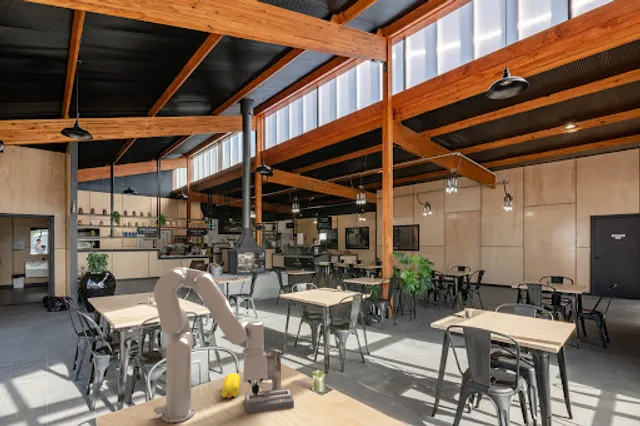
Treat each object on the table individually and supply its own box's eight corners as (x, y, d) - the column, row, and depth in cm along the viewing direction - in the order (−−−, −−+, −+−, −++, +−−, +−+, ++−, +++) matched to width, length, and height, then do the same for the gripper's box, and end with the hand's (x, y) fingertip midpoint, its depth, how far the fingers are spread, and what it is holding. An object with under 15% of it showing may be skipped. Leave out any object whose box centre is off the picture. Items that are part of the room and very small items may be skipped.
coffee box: (269, 383, 171) (268, 350, 172) (281, 384, 170) (281, 351, 171) (262, 391, 162) (262, 356, 163) (275, 392, 161) (275, 357, 162)
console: (246, 413, 143) (246, 404, 143) (245, 399, 155) (245, 391, 156) (293, 406, 148) (293, 398, 148) (289, 393, 160) (289, 385, 160)
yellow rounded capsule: (220, 401, 154) (237, 400, 155) (220, 385, 154) (237, 384, 155) (225, 384, 172) (241, 383, 173) (225, 370, 172) (241, 369, 173)
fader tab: (262, 398, 149) (262, 383, 150) (261, 395, 152) (261, 380, 153) (272, 397, 150) (272, 382, 151) (271, 394, 154) (271, 379, 154)
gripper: (237, 355, 146) (237, 400, 145) (273, 351, 150) (273, 395, 149) (237, 349, 153) (237, 392, 152) (271, 346, 157) (271, 388, 156)
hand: (255, 393), depth 150 cm, fingers closed
